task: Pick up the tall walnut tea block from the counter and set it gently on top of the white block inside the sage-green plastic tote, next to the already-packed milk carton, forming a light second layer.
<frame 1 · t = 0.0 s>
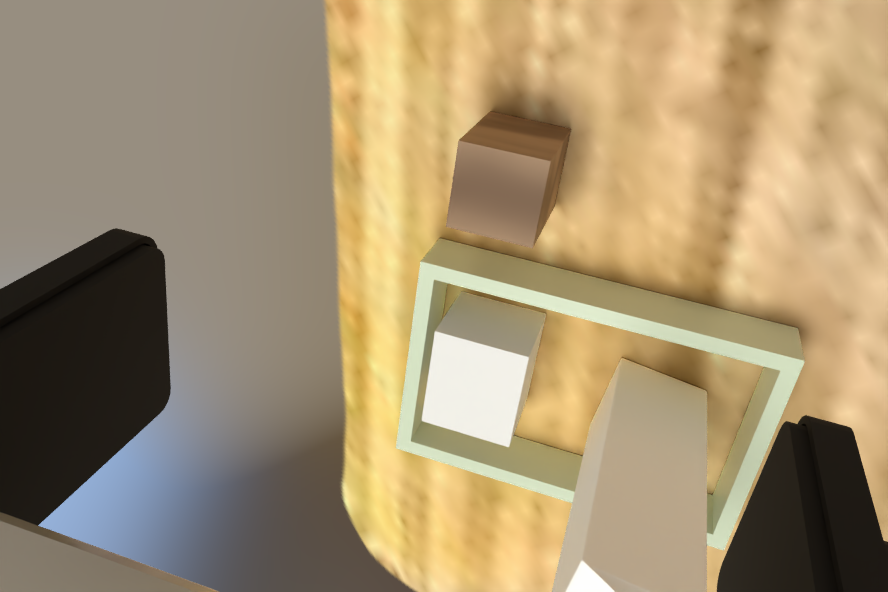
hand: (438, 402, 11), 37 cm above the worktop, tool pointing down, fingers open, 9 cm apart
white block: (495, 344, 54), resting in tote
walnut block: (522, 159, 48), on the worktop
tote: (584, 377, 53), on the worktop
milk: (647, 405, 53), resting in tote
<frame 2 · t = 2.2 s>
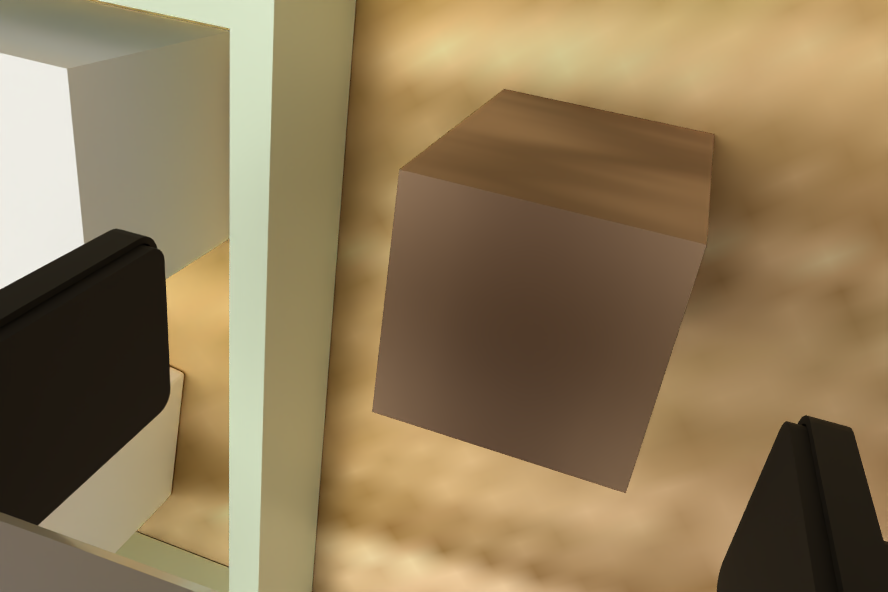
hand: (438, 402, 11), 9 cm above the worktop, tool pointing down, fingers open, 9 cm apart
white block: (127, 113, 23), resting in tote
walnut block: (582, 209, 19), on the worktop
tote: (123, 304, 26), on the worktop
milk: (111, 401, 28), resting in tote
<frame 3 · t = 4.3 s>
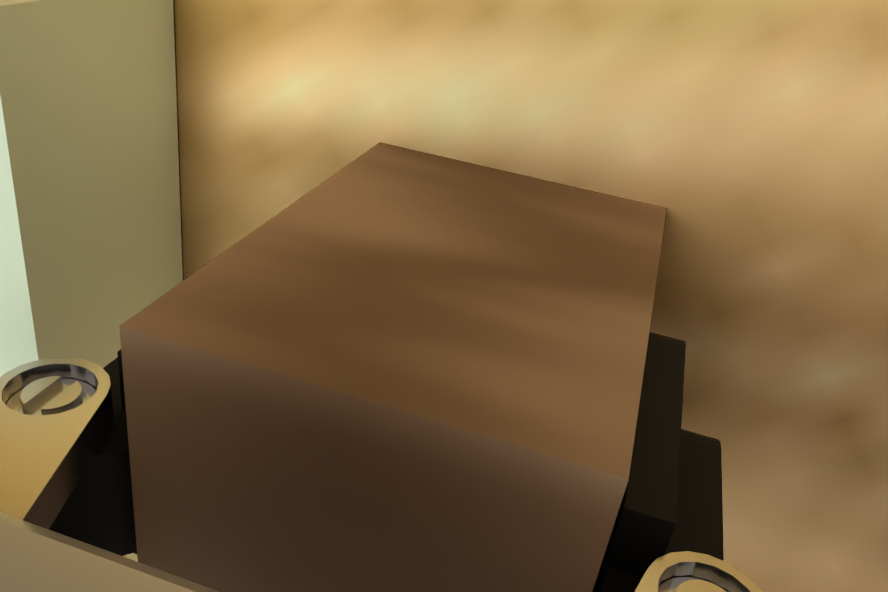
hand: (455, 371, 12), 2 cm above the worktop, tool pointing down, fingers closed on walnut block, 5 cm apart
walnut block: (493, 302, 14), on the worktop, touching gripper
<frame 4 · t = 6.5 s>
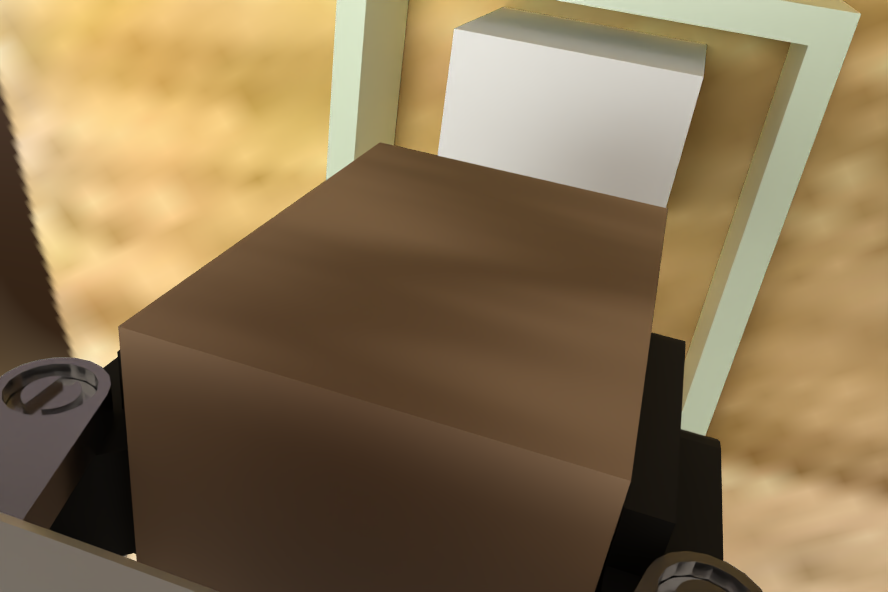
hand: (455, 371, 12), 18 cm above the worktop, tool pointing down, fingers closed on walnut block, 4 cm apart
white block: (584, 111, 28), resting in tote
walnut block: (494, 302, 14), point 16 cm above the worktop, touching gripper
tote: (536, 269, 31), on the worktop
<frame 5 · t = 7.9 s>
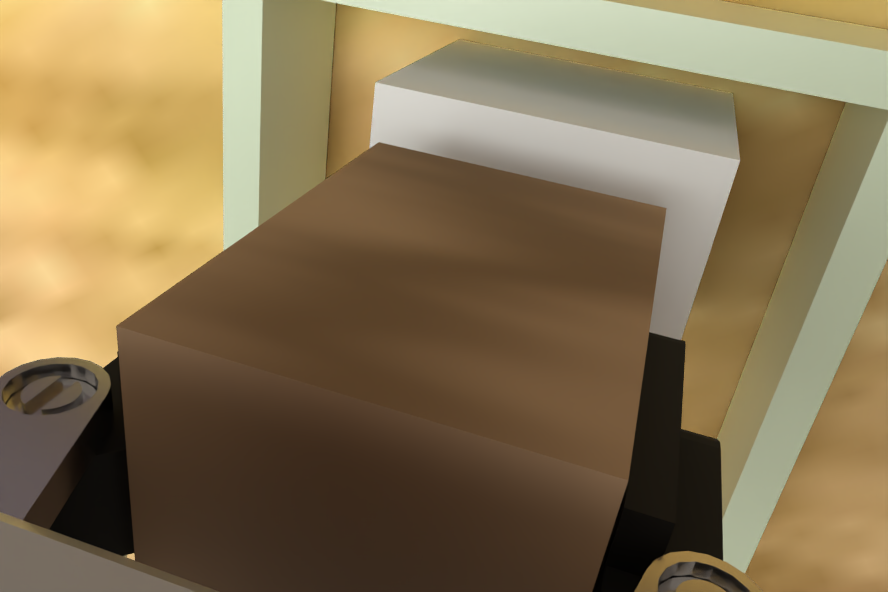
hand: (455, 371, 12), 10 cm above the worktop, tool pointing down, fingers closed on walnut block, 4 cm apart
white block: (567, 176, 21), resting in tote
walnut block: (493, 302, 14), point 8 cm above the worktop, touching gripper
tote: (507, 370, 24), on the worktop
when the fingers open (10 cm above the worktop, at t = 8.8 s): walnut block drops 2 cm, resting on white block.
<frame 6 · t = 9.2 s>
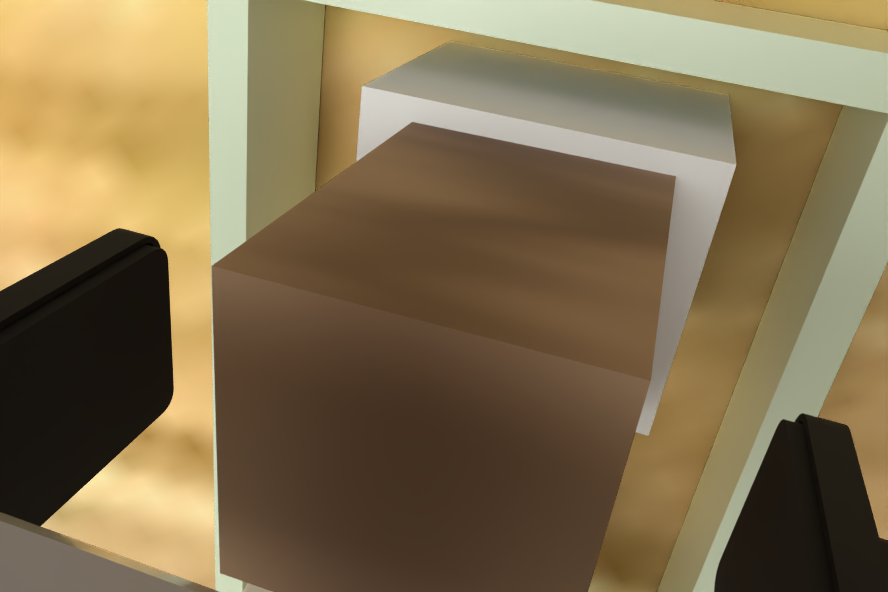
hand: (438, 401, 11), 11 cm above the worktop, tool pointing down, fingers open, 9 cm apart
white block: (560, 179, 21), resting in tote, touching walnut block
walnut block: (517, 268, 16), point 6 cm above the worktop, touching white block
tote: (500, 376, 24), on the worktop
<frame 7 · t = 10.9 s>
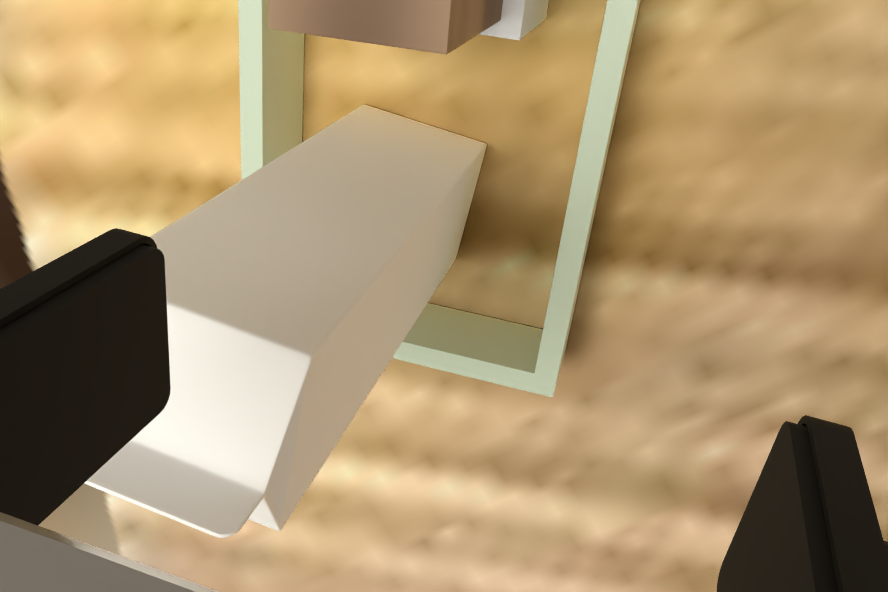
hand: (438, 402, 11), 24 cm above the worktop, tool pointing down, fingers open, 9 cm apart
tote: (442, 90, 34), on the worktop
milk: (412, 182, 36), resting in tote
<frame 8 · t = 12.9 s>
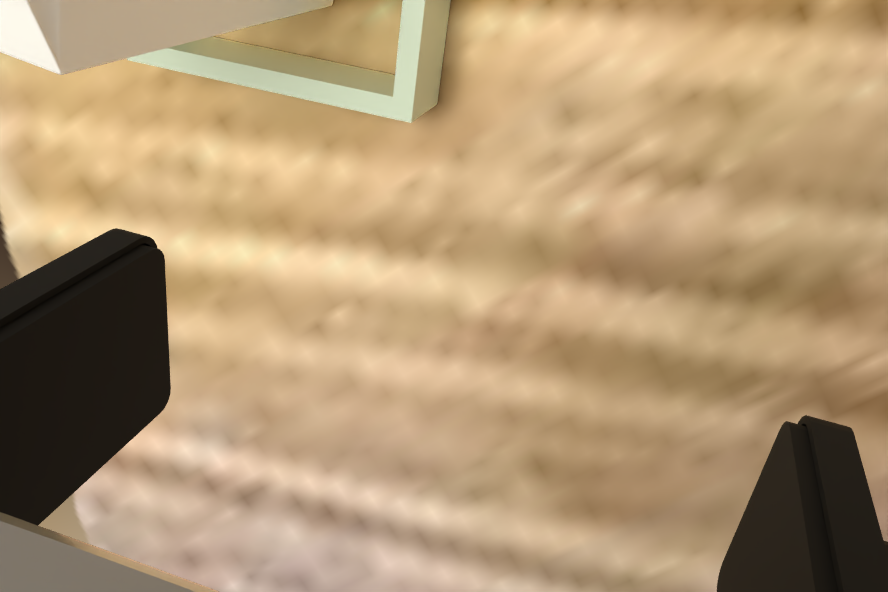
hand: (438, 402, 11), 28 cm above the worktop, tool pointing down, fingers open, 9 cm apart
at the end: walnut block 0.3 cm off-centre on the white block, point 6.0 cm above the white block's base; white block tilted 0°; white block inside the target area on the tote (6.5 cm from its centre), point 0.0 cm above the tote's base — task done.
